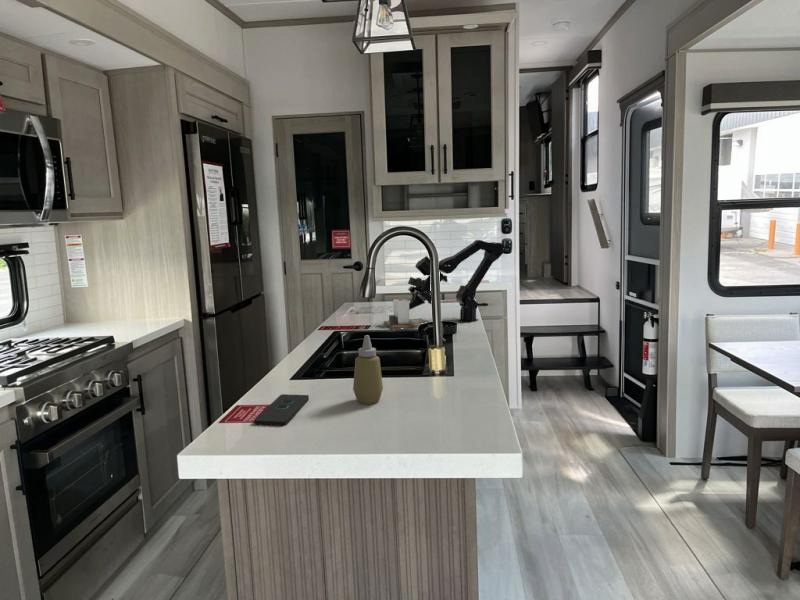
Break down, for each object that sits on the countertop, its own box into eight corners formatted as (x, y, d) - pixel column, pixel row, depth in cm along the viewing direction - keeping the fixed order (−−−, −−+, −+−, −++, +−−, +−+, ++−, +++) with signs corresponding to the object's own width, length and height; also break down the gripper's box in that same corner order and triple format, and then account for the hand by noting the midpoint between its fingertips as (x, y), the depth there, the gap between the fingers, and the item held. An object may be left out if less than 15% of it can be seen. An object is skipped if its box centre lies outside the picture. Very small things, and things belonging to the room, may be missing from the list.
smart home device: (310, 394, 158) (285, 421, 138) (310, 400, 158) (286, 428, 139) (280, 393, 159) (252, 419, 140) (280, 399, 159) (253, 426, 140)
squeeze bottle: (389, 399, 157) (387, 334, 154) (372, 408, 150) (371, 340, 147) (364, 394, 161) (362, 331, 158) (347, 403, 154) (345, 337, 151)
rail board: (421, 320, 265) (421, 311, 264) (432, 326, 252) (432, 316, 251) (383, 323, 260) (383, 314, 259) (393, 329, 247) (392, 319, 246)
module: (404, 320, 259) (403, 296, 257) (409, 323, 252) (409, 298, 250) (393, 321, 257) (393, 297, 256) (398, 324, 250) (398, 299, 249)
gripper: (412, 268, 262) (389, 294, 261) (426, 272, 245) (401, 300, 243) (428, 284, 266) (406, 310, 264) (443, 290, 248) (419, 317, 247)
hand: (408, 309), depth 255 cm, fingers closed
